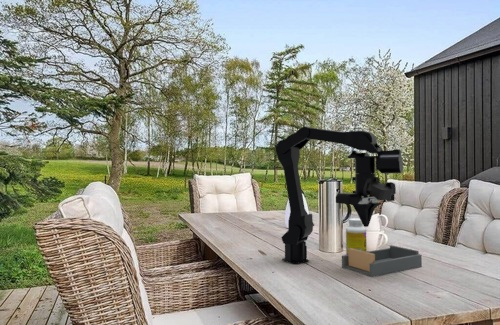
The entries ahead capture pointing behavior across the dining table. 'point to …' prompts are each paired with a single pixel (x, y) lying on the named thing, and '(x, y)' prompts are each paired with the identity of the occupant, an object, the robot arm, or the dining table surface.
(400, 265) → the dark grey tray
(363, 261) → the block
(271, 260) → the dining table surface
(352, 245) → the supplement bottle
